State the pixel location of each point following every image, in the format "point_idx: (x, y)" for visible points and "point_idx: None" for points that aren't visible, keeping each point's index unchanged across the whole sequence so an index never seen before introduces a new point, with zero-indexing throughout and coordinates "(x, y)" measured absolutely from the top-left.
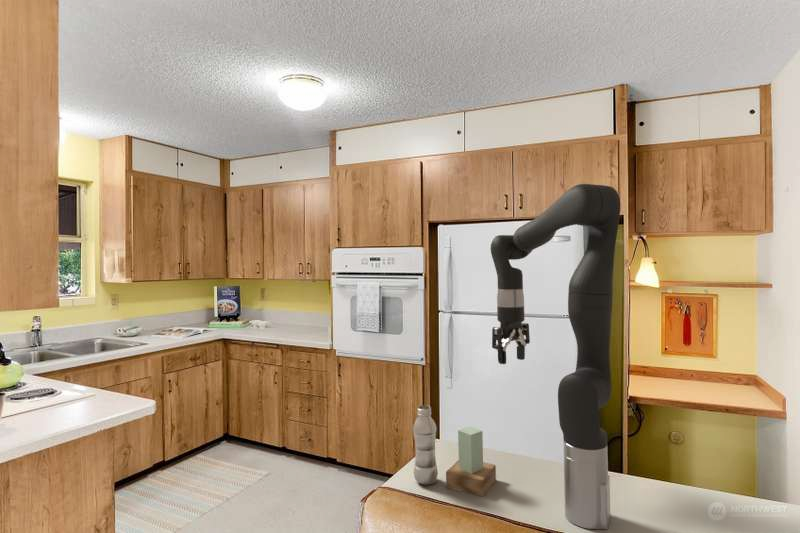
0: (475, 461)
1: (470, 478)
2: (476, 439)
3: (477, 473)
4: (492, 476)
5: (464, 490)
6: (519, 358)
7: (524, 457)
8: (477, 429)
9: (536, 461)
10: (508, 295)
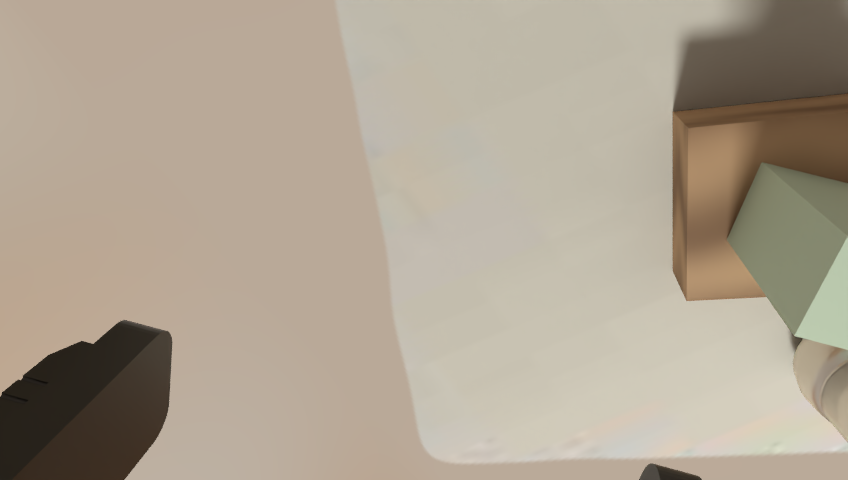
0: (841, 193)
1: None
2: None
3: (835, 160)
4: (730, 114)
5: None
6: (161, 394)
7: (365, 97)
8: (836, 272)
9: (372, 28)
10: None
